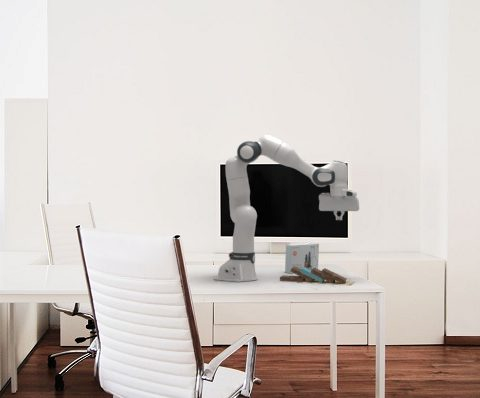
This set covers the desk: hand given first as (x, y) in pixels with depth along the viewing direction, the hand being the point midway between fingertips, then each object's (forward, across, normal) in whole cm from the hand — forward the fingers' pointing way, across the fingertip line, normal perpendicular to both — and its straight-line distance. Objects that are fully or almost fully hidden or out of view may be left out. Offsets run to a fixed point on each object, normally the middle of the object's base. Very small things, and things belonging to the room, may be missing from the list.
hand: (339, 220), depth 324 cm
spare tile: (+29, -6, -11) cm, 32 cm away
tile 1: (+29, +5, -11) cm, 32 cm away
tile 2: (+29, 0, -11) cm, 31 cm away
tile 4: (+29, -11, -11) cm, 33 cm away
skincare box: (+31, -26, +28) cm, 50 cm away
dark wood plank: (+29, -15, -11) cm, 35 cm away
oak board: (+31, -5, -11) cm, 33 cm away
